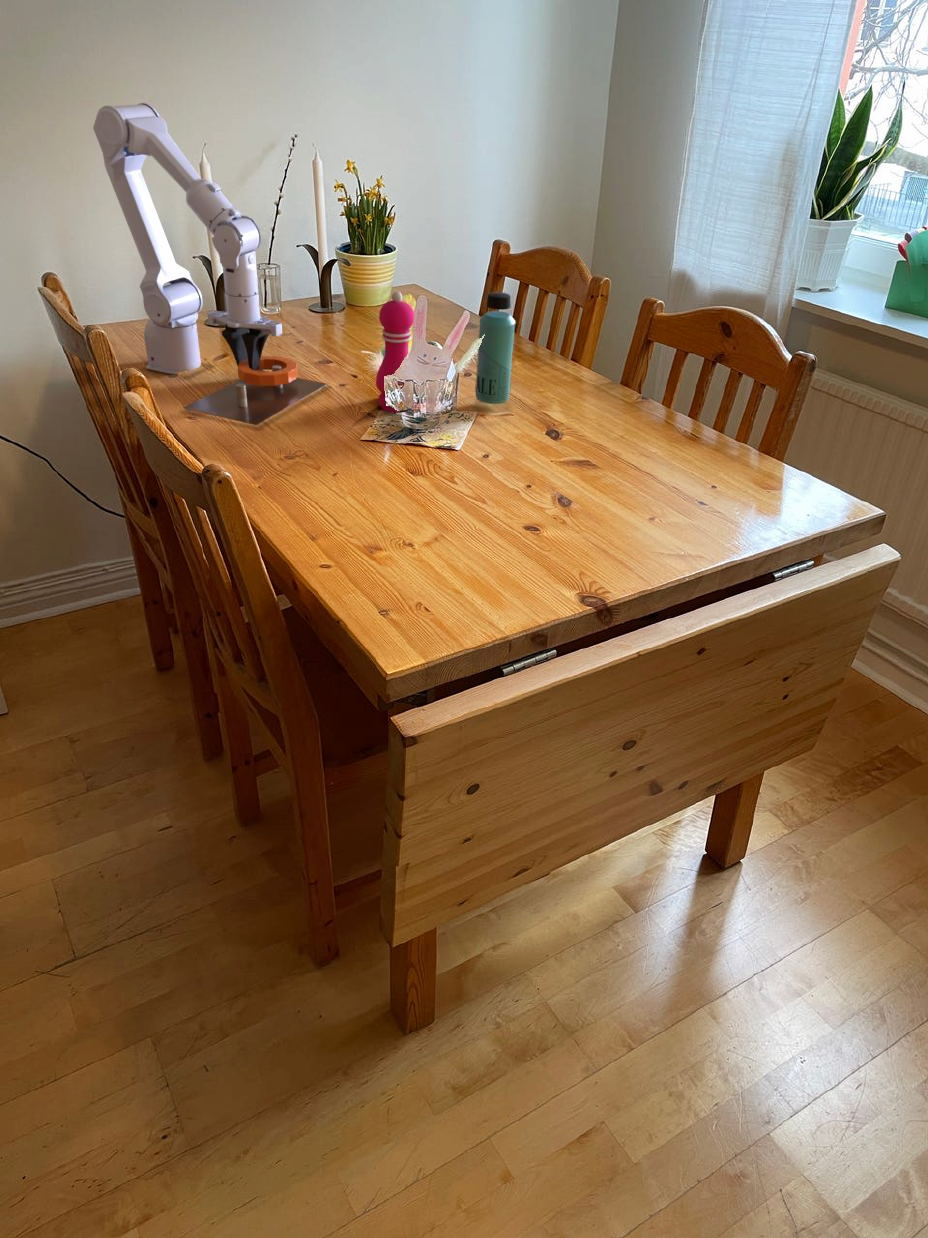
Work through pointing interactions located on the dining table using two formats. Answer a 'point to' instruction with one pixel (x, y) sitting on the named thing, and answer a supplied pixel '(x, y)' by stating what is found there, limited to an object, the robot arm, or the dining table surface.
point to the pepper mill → (394, 340)
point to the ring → (268, 378)
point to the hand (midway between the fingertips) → (248, 368)
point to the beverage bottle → (495, 351)
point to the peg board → (254, 399)
